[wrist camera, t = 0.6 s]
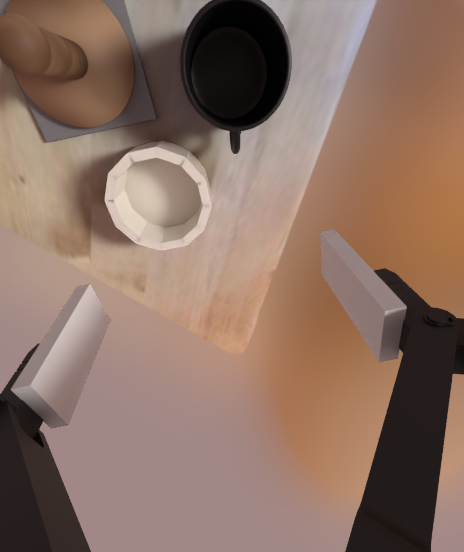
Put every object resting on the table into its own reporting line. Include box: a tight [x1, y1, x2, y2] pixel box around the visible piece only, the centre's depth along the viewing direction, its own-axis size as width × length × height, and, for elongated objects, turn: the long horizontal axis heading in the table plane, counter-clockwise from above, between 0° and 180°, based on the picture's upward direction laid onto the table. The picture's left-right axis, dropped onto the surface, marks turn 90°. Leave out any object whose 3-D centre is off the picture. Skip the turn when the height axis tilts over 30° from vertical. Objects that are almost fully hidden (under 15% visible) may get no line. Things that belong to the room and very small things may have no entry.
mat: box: [0, 0, 157, 142], centre depth 30 cm, size 13×13×1 cm
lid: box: [0, 0, 135, 128], centre depth 25 cm, size 12×12×12 cm
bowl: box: [105, 141, 212, 251], centre depth 35 cm, size 12×12×6 cm
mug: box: [180, 0, 292, 154], centre depth 29 cm, size 9×12×9 cm
